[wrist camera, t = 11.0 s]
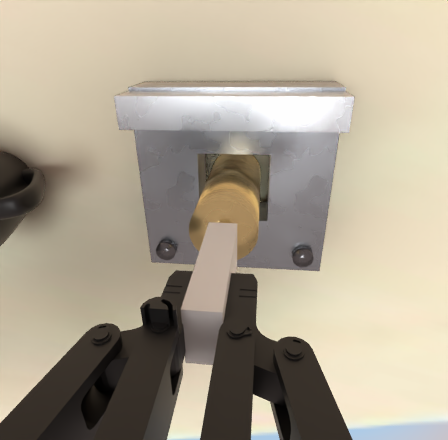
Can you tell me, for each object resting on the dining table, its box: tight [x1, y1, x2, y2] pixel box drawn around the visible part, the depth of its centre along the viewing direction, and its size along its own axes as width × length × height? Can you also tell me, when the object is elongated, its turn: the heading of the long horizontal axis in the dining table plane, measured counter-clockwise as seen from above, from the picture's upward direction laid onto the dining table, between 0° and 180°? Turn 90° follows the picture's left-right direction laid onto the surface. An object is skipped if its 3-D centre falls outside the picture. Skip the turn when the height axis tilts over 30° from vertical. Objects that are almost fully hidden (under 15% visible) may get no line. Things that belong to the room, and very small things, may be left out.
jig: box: [114, 81, 355, 271], centre depth 26 cm, size 14×14×6 cm
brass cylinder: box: [189, 154, 261, 260], centre depth 24 cm, size 4×4×10 cm
